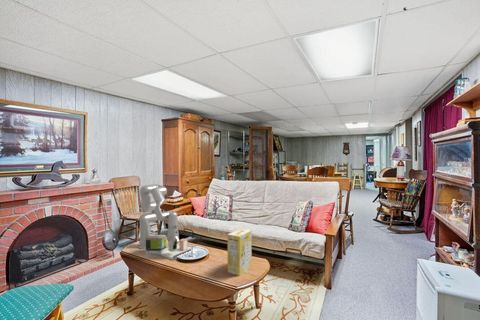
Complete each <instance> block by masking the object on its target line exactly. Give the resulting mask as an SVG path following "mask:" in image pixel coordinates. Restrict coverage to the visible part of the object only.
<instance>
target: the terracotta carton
mask: <svg viewBox="0 0 480 320" xmlns="http://www.w3.org/2000/svg"><path fill="white" fill-rule="evenodd" d="M178 244H179V250H181V251H185V250H187V249H188V239H187V238H181V239H179V242H178Z"/></svg>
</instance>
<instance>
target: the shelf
mask: <svg viewBox="0 0 480 320" xmlns="http://www.w3.org/2000/svg"><path fill="white" fill-rule="evenodd" d="M189 251H191V252H192V248H190V249H188V248H187V250H186V251H181V250H179V243H177V250H176V251H173V252H171V251H168V247H166V249H163V250H161V255H160V257H163V258H166V259H169V260H172V261H176V260H177V256H179V255H181V254H184V253H186V252H189ZM179 252H180V253H179ZM177 253H179V254H177Z"/></svg>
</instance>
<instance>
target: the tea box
mask: <svg viewBox="0 0 480 320" xmlns="http://www.w3.org/2000/svg"><path fill="white" fill-rule="evenodd" d="M166 248H167V235H166V234H151V235H150V236H148V237H147V238H146V249H145V255H157V256H158V255H160V256H161V250H163V249H166Z"/></svg>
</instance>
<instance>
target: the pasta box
mask: <svg viewBox="0 0 480 320" xmlns="http://www.w3.org/2000/svg"><path fill="white" fill-rule="evenodd" d="M252 238H253V237H252V230H251V229H246V228H240V227H239V228H238V229H236V230H234V231H232V232H230V233H228V234H227V264H226V265H227V266H226V267H227V273H228V274H232V275H235V276H239V277H240V276H241V275H243V274H244V273H245V272H246V271H248V269H250V268H251V267H252V261H253V260H252V257H253V256H252V246H253V244H252V240H253V239H252Z"/></svg>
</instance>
